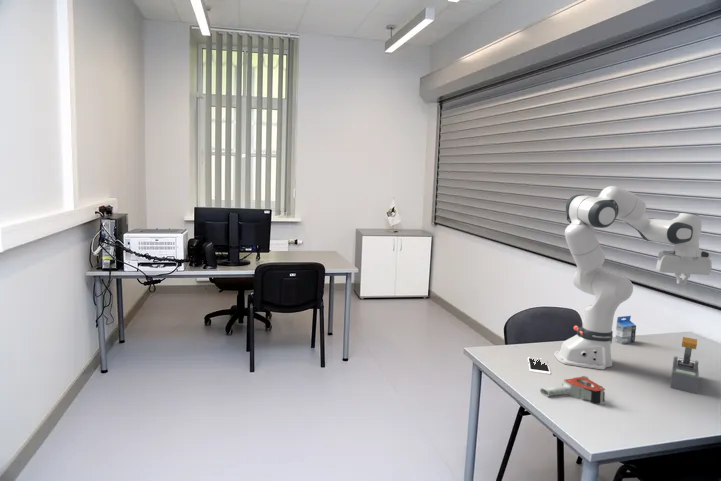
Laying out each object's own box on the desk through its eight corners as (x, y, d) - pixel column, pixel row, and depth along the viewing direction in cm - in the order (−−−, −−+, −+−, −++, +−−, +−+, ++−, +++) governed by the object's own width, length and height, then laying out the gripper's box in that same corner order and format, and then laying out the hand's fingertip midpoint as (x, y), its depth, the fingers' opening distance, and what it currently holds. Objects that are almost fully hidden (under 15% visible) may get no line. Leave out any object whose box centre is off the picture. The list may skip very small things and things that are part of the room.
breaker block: (671, 370, 192) (674, 349, 191) (695, 376, 188) (698, 354, 187) (670, 387, 176) (673, 364, 175) (696, 393, 172) (699, 370, 170)
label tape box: (621, 344, 223) (624, 319, 222) (614, 341, 227) (617, 316, 225) (634, 342, 226) (637, 317, 225) (627, 339, 230) (630, 315, 229)
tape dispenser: (538, 400, 166) (601, 414, 154) (538, 385, 165) (602, 399, 154) (550, 380, 180) (608, 392, 169) (550, 367, 179) (609, 378, 168)
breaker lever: (678, 361, 184) (681, 336, 176) (693, 364, 181) (698, 339, 174) (677, 366, 182) (681, 341, 175) (693, 369, 179) (697, 344, 172)
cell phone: (529, 372, 186) (529, 370, 186) (527, 358, 202) (527, 356, 201) (550, 375, 184) (550, 373, 184) (546, 360, 199) (546, 359, 199)
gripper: (662, 251, 196) (658, 283, 197) (715, 254, 193) (711, 287, 195) (655, 249, 202) (651, 280, 204) (706, 251, 200) (702, 283, 201)
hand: (681, 283), depth 199 cm, fingers closed
